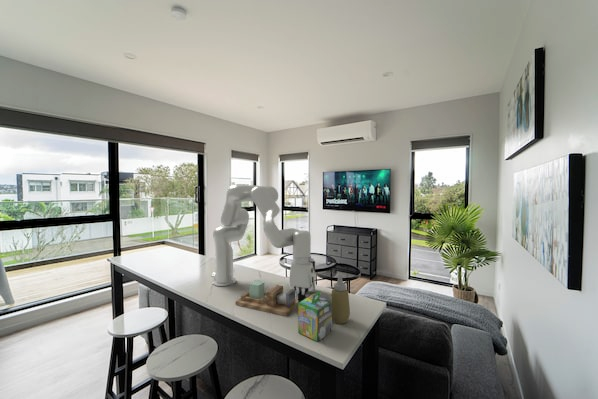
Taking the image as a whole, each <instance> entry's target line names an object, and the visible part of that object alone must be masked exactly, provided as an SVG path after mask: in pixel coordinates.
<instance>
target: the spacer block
mask: <svg viewBox="0 0 598 399" xmlns="http://www.w3.org/2000/svg"><path fill="white" fill-rule="evenodd" d="M248 286H249V290H248V291H249V297H251V298H256V299H262V298H263V297H264V292H265V281H262V280H254V281H252V282H250V283H249V285H248Z"/></svg>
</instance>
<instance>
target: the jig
mask: <svg viewBox="0 0 598 399" xmlns="http://www.w3.org/2000/svg"><path fill="white" fill-rule="evenodd" d="M278 292H281V293H284V285H280V284H279V285H278V284H277V285H274V286H273V287H272V288H270V289H269V290H268V291H264V297H263V298H262V299H256V298H251V297H249V290H248V291H247V292H245V293H244V294H242V295H240V298H239V299H237V300H236V301H235V305H236V306H239V307H243V308H248V309H252V310H256V311H257V310H258V311H262V312H266V313H269V314H270V313H271V314H275V315H278V316H283V317H288V316H289V315H290V314H291V313H292V312H294V310H296V308H298V298H295V302H294V303H293V304H292V305H291V306H290V307H286V305H283V304H279V303H276V294H277V293H278Z"/></svg>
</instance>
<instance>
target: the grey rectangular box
mask: <svg viewBox="0 0 598 399" xmlns="http://www.w3.org/2000/svg"><path fill="white" fill-rule="evenodd" d="M295 299H296V291H295V289H294V288H291V289H289V290H288V291H287V292H283V293H281V292H278V293H277V294H276V303H279V304H283V305H286V307H290V306H291V305H292V304H293V303H294V302H295Z"/></svg>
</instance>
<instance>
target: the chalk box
mask: <svg viewBox="0 0 598 399" xmlns="http://www.w3.org/2000/svg"><path fill="white" fill-rule="evenodd" d="M321 294H322V291H321V290H320V291H318V292H316V293H311V295H309V296H306V298H305V299H304V300H302V301H300V302H299V303H298V306H297V309H298V310H297V311H298V312H297V313H298V317H297V318H298V322H297V323H298V326H297V328H298V330H297V332H298V333H299V334H301V335H303V336H305V337H306V338H308V339H311V340H312V341H315V342H318V343H319V342H320V341H321V340H322V339H323V338H325V337H326V336H327V335H328V334H330V333H331V332H332V322H333V320H332V301H331V299H330V300H329V299H327V298H324V297H321Z"/></svg>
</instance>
